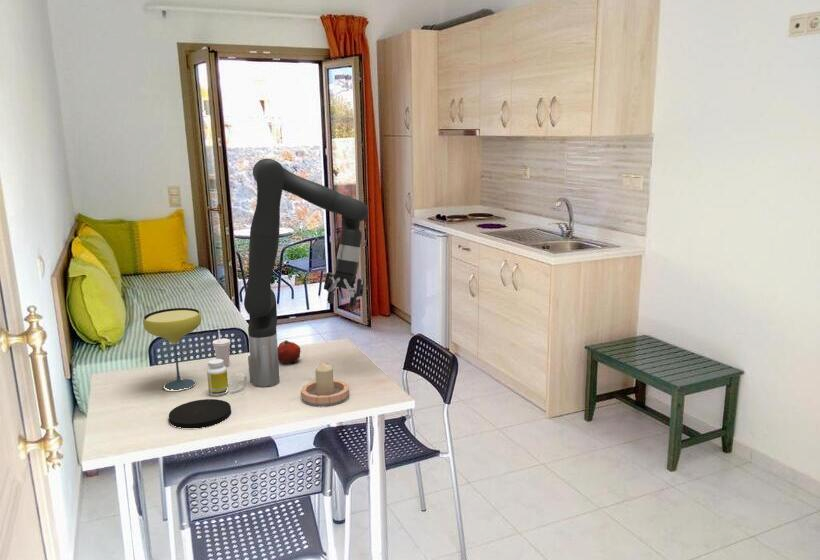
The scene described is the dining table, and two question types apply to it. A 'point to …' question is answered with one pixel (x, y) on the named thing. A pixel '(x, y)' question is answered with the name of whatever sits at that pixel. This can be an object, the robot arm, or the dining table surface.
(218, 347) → the smoothie
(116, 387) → the dining table surface
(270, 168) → the robot arm
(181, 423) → the wireless charger
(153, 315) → the cocktail glass
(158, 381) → the dining table surface
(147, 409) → the dining table surface
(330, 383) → the candle
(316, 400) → the dish
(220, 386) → the pill bottle
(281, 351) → the tomato
